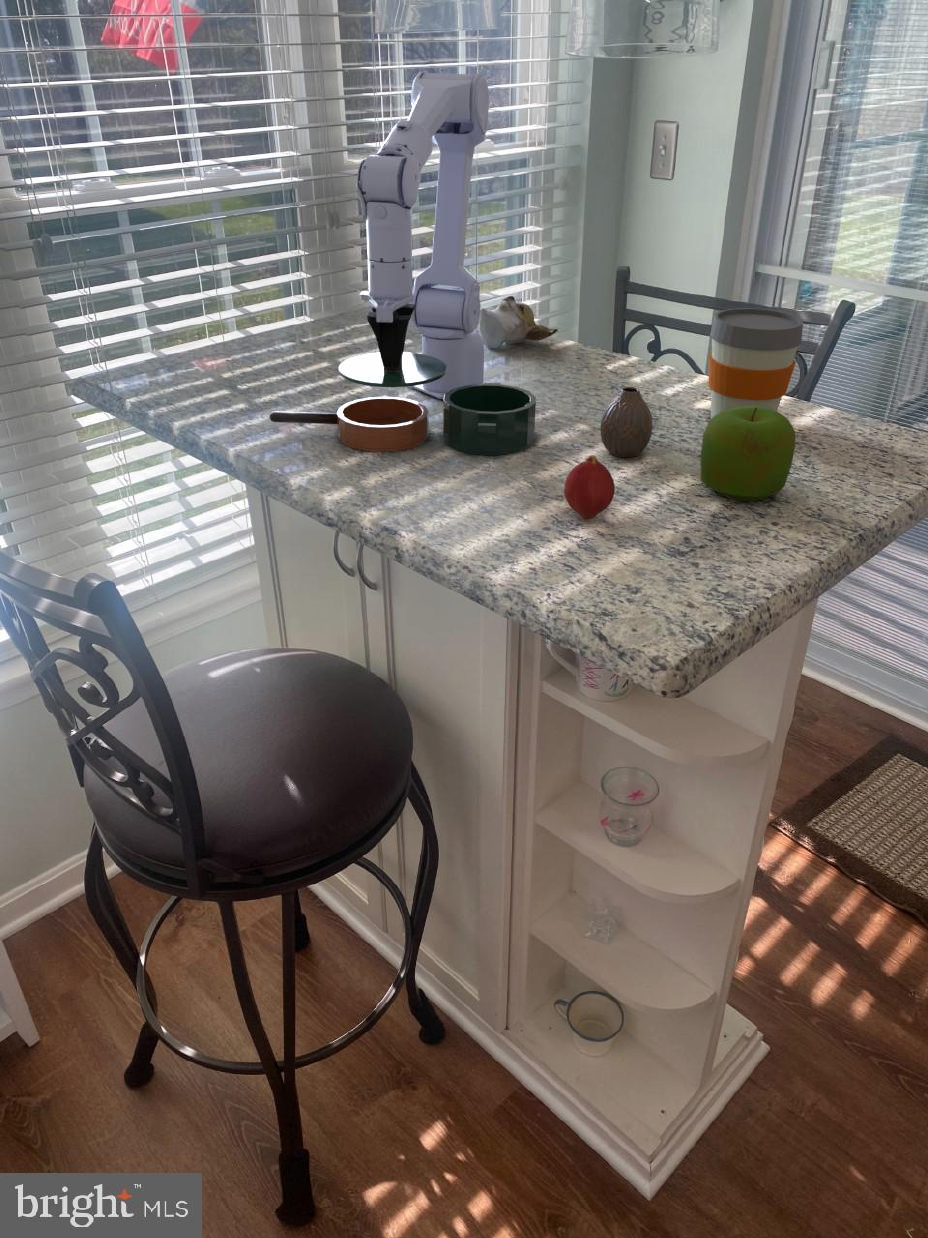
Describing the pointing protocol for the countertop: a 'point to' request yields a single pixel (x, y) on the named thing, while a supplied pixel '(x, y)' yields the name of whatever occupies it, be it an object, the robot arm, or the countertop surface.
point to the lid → (392, 370)
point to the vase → (626, 424)
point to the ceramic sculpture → (510, 324)
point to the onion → (589, 488)
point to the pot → (489, 419)
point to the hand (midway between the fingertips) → (392, 363)
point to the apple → (747, 452)
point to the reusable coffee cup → (752, 357)
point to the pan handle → (304, 417)
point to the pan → (383, 424)
